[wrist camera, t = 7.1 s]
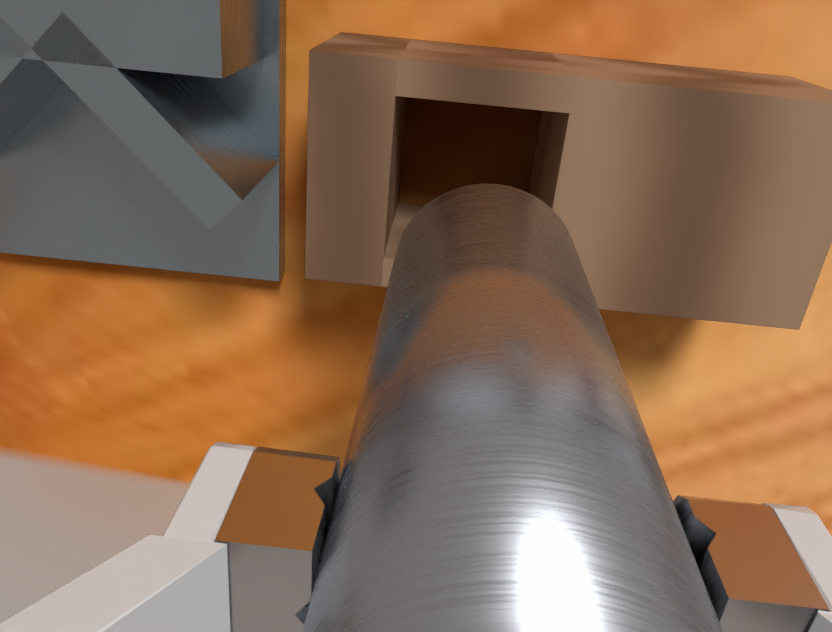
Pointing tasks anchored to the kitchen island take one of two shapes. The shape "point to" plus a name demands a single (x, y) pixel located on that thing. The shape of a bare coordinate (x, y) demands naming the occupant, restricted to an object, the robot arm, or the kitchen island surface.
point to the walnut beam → (593, 170)
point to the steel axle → (500, 449)
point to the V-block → (145, 133)
